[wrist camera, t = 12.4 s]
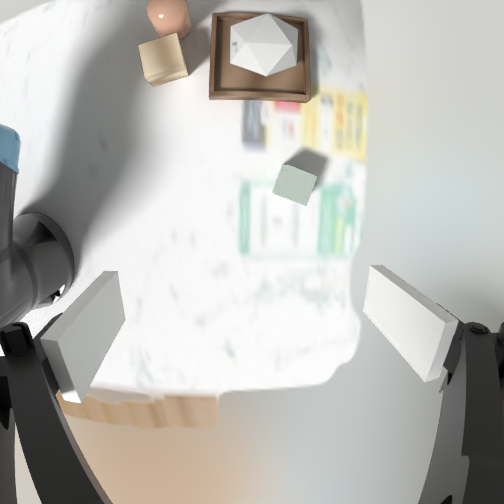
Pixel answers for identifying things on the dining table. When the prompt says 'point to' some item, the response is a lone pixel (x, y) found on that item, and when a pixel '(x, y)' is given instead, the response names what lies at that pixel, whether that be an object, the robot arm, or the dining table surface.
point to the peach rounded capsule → (169, 17)
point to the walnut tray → (251, 83)
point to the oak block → (163, 60)
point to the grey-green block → (294, 184)
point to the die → (264, 45)
